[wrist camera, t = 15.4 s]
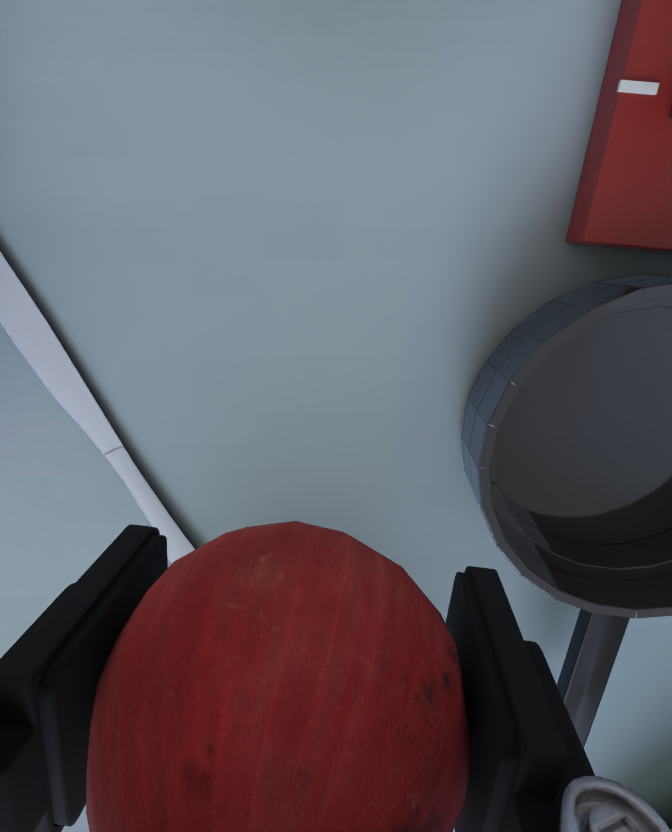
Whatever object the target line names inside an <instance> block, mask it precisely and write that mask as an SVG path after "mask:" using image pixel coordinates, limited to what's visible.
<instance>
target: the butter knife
mask: <svg viewBox="0 0 672 832" xmlns="http://www.w3.org/2000/svg"><path fill="white" fill-rule="evenodd" d="M0 323H1V325H2V326H3V328H4V329H5V330H6V332H7V333H8V335H9V336H10V338H11V339H12V341H13V342H14V344H15V345H16V346H17V348H18V349H19V350H20V352H21V353H22V354H23V356H24V357H25V358H26V360H27V361H28V363H29V364H30V365H31V367H32V368H33V369H34V371H35V372H36V373H37V375H38V376H39V378H40V379H41V380H42V382H43V383H44V384H45V386H46V387H47V388H48V390H49V391H50V392H51V394H52V395H53V396H54V397H55V398H56V399H57V401H58V402H59V403H60V404H61V405H62V406H63V407H64V408H65V410H66V411H67V412H68V413H69V414H70V415H71V416H72V417H73V418H74V420H75V421H76V422H77V423H78V424H79V425H80V426H81V427H82V428H83V430H84V431H85V432H86V433H87V434H88V435H89V436H90V437H91V439H92V440H93V441H94V443H95V444H96V445H97V447H98V448H99V449H100V451H101V452H102V453H103V455H105V457H106V458H107V459H108V461H109V462H110V463H111V465H112V466H113V467H114V469H115V470H116V471H117V473H118V474H119V475H120V477H121V478H122V479H123V481H124V482H125V484H126V485H127V487H128V488H129V490H130V492H131V493H132V495H133V496H134V498H135V500H136V501H137V503H138V504H139V506H140V508H141V509H142V511H143V512H144V514H145V516H146V517H147V519H148V520H149V522H150V524H151V526H152V527H156V528H158V530H159V532H160V535H164V536H166V538H167V556H168V558H169V560H170V562H171V564H172V563H173V562H174V561H176V560H178V559H179V558H181V557H183V556H185V555H187V554H188V553H190V552H192V551H194V550H195V548H194V547H193V546H192V544H191V543H190V542H189V540H188V539H187V538H186V536H185V535H184V534H183V533H182V531H181V530H180V528H179V527H178V526H177V524H176V523H175V521H174V520H173V519H172V517H171V516H170V515H169V513H168V512H167V510H166V509H165V507H164V506H163V505H162V503H161V502H160V500H159V499H158V497H157V496H156V494H155V493H154V491H153V490H152V489H151V487H150V486H149V484H148V483H147V481H146V480H145V478H144V477H143V476H142V474H141V473H140V471H139V470H138V468H137V466H136V465H135V463H134V462H133V460H132V459H131V457H130V456H129V454H128V453H127V451H126V450H125V448H124V447H123V445H122V443H121V442H120V440H119V438H118V437H117V435H116V434H115V432H114V430H113V429H112V427H111V425H110V424H109V422H108V420H107V419H106V417H105V416H104V414H103V412H102V411H101V409H100V407H99V406H98V404H97V402H96V401H95V399H94V398H93V396H92V394H91V393H90V391H89V389H88V388H87V386H86V384H85V383H84V381H83V379H82V378H81V376H80V375H79V373H78V371H77V370H76V368H75V366H74V365H73V363H72V362H71V360H70V358H69V357H68V355H67V353H66V352H65V350H64V349H63V347H62V345H61V344H60V342H59V340H58V339H57V337H56V336H55V334H54V332H53V331H52V329H51V327H50V326H49V324H48V323H47V321H46V320H45V318H44V317H43V315H42V314H41V312H40V311H39V309H38V308H37V306H36V305H35V303H34V302H33V300H32V299H31V297H30V296H29V294H28V293H27V291H26V290H25V288H24V287H23V285H22V284H21V282H20V281H19V279H18V278H17V276H16V275H15V273H14V272H13V270H12V269H11V267H10V266H9V264H8V263H7V261H6V260H5V258H4V257H3V255H2V253H1V252H0Z"/></svg>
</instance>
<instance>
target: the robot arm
mask: <svg viewBox="0 0 672 832" xmlns="http://www.w3.org/2000/svg"><path fill="white" fill-rule="evenodd" d="M167 569H168V564H167V538H166V536H164V535H160V532H159V530H158V528H156V527H149V526H141V525H129V526H127V527H126V528H125V529H124V530H123V531H122V533H121V534H120V535H119V536H118V537H117V538H116V539H115V540H114V541H113V542H112V544H111V545H110V546H109V547H108V548H107V549H106V550H105V551H104V552H103V553H102V555H101V556H100V557H99V558H98V559H97V560H96V561H95V562H94V563H93V564H92V565H91V567H90V568H89V569H88V570H87V571H86V572H85V573H84V574H83V575H82V576H81V578H80V579H79V580H78V581H77V582H76V583H73V584H71V585H69V586H68V587H67V588H66V589H65V590H64V591H63V592H62V593H61V594H60V595H59V596H58V597H57V598H56V599H55V600H54V602H53V603H52V604H51V605H50V606H49V607H48V608H47V609H46V610H45V611H44V612H43V613H42V614H41V616H40V617H39V618H38V619H37V620H36V621H35V622H34V623H33V624H32V625H31V626H30V627H29V629H28V630H27V631H26V632H25V633H24V634H23V635H22V636H21V637H20V638H19V639H18V640H17V641H16V643H15V644H14V645H13V646H12V647H11V648H10V649H9V650H8V651H7V652H6V653H5V654H4V655H3V657H2V658H1V659H0V832H61V831H62V829H63V827H64V826H72V825H73V824H74V823H75V822H76V821H77V819H78V818H79V816H80V814H81V812H82V810H83V808H84V807H85V805H86V787H87V762H88V750H89V737H90V726H91V720H92V714H93V708H94V702H95V696H96V690H97V684H98V681H99V679H100V676H101V674H102V672H103V669H104V667H105V664H106V662H107V660H108V657H109V655H110V653H111V650H112V648H113V645H114V643H115V641H116V639H117V637H118V636H119V634H120V633H121V631H122V629H123V628H124V626H125V625H126V623H127V622H128V620H129V619H130V617H131V615H132V614H133V612H134V611H135V609H136V608H137V606H138V605H139V603H140V601H141V600H142V598H143V597H144V595H145V594H146V592H147V591H148V590H149V589H150V588H151V586H152V585H153V584H154V583H155V582H156V581H157V580H158V579H159V578H160V576H161V575H162V574H163V573H164V572H165V571H166V570H167ZM446 626H447V628H448V630H449V632H450V634H451V636H452V638H453V640H454V642H455V644H456V646H457V652H458V658H459V664H460V669H461V675H462V681H463V687H464V693H465V698H466V704H467V712H468V721H469V731H470V743H471V754H472V761H471V767H470V773H469V779H468V785H467V791H466V797H465V803H464V806H463V808H462V810H461V813H460V815H459V817H458V820H457V822H456V825H455V832H671V831H670V829H669V827H668V826H667V824H666V823H665V822H664V820H663V819H662V818H661V817H660V816H659V815H658V814H657V812H656V811H655V810H654V809H653V808H652V807H651V806H650V805H649V804H648V803H647V802H645V801H644V800H643V799H642V798H641V797H639V796H638V795H637V794H636V793H635V792H633V791H631V790H630V789H628V788H626V787H624V786H623V785H621V784H619V783H617V782H615V781H612V780H609V779H606V778H603V777H599V776H595V774H594V772H593V770H592V767H591V765H590V763H589V760H588V758H587V756H586V753H585V751H584V749H583V746H582V744H581V741H580V739H579V737H578V734H577V732H576V730H575V727H574V725H573V723H572V720H571V718H570V716H569V713H568V711H567V709H566V706H565V704H564V701H563V699H562V697H561V694H560V692H559V690H558V687H557V685H556V683H555V680H554V678H553V676H552V673H551V671H550V669H549V666H548V664H547V661H546V659H545V657H544V654H543V652H542V650H541V648H540V647H539V645H538V644H537V643H535V642H532V641H525V640H523V637H522V635H521V632H520V629H519V627H518V624H517V622H516V619H515V617H514V614H513V611H512V609H511V606H510V604H509V601H508V599H507V596H506V593H505V591H504V588H503V586H502V583H501V581H500V578H499V576H498V573H497V571H496V570H495V569H488V568H480V567H472V566H468V567H467V568H466V570H465V573H462V572H457V573H456V576H455V580H454V585H453V590H452V595H451V600H450V605H449V609H448V614H447V619H446Z"/></svg>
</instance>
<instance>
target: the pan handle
mask: <svg viewBox="0 0 672 832" xmlns="http://www.w3.org/2000/svg"><path fill="white" fill-rule="evenodd" d="M629 619H630V618H629V617H621V616H613V615H606V614H598V613H593V612H589V611H586V610H584V609H581V610H580V613H579V616H578V619H577V623H576V626H575V629H574V632H573V635H572V638H571V642H570V645H569V648H568V651H567V654H566V658H565V661H564V664H563V667H562V670H561V674H560V677H559V680H558V683H557V687H558V690H559V692H560V694H561V697H562V699H563V701H564V704H565V706H566V709H567V711H568V713H569V716H570V718H571V720H572V723H573V725H574V727H575V730H576V732H577V734H578V737H579V739H580V741H581V744H582V746H583V749H584V746H585V743H586V740H587V737H588V735H589V732H590V729H591V726H592V723H593V720H594V718H595V715H596V712H597V709H598V706H599V704H600V701H601V698H602V695H603V692H604V689H605V687H606V684H607V681H608V678H609V675H610V673H611V670H612V667H613V664H614V661H615V658H616V656H617V653H618V650H619V647H620V644H621V642H622V639H623V636H624V633H625V630H626V627H627V625H628V622H629Z"/></svg>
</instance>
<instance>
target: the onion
mask: <svg viewBox="0 0 672 832" xmlns="http://www.w3.org/2000/svg"><path fill="white" fill-rule="evenodd" d="M471 761H472V754H471V743H470V731H469V721H468V712H467V704H466V698H465V693H464V687H463V681H462V675H461V669H460V664H459V658H458V652H457V646H456V644H455V642H454V640H453V638H452V636H451V634H450V632H449V630H448V628H447V626H446V624H445V622H444V620H443V618H442V616H441V614H440V612H439V611H438V610H437V609H436V607H435V606H434V605H433V604H432V603H431V601H430V600H429V599H428V598H427V597H426V595H425V594H424V593H423V592H422V591H421V589H420V588H419V587H418V586H417V584H416V583H415V582H414V581H413V580H412V578H411V577H410V576H409V575H408V574H407V572H406V571H405V570H404V569H403V568H402V567H401V566H399V565H398V564H396V563H394V562H393V561H391V560H390V559H388V558H386V557H385V556H383V555H381V554H380V553H378V552H376V551H375V550H373V549H371V548H370V547H368V546H366V545H365V544H363V543H361V542H360V541H358V540H356V539H355V538H353V537H352V536H350V535H348V534H346V533H344V532H340V531H336V530H332V529H328V528H323V527H319V526H315V525H311V524H306V523H302V522H298V521H293V522H285V523H276V524H268V525H260V526H252V527H246V528H242V529H239V530H235V531H231V532H228V533H225V534H223V535H221V536H219V537H218V538H216V539H214V540H212V541H210V542H208V543H207V544H205V545H203V546H201V547H199V548H198V549H196V550H194V551H192V552H190V553H188V554H187V555H185V556H183V557H181V558H179V559H178V560H176V561H174V562H173V563H172V564H171V565H170V567H169V568H168V569H167V570H166V571H165V572H164V573H163V574H162V575H161V576H160V578H159V579H158V580H157V581H156V582H155V583H154V584H153V585H152V586H151V588H150V589H149V590H148V591H147V592H146V594H145V595H144V597H143V598H142V600H141V601H140V603H139V605H138V606H137V608H136V609H135V611H134V612H133V614H132V615H131V617H130V619H129V620H128V622H127V623H126V625H125V626H124V628H123V629H122V631H121V633H120V634H119V636H118V637H117V639H116V641H115V643H114V645H113V648H112V650H111V653H110V655H109V657H108V660H107V662H106V664H105V667H104V669H103V672H102V674H101V676H100V679H99V681H98V684H97V690H96V696H95V702H94V708H93V714H92V720H91V726H90V737H89V750H88V762H87V787H86V814H87V819H88V825H89V830H90V832H453V829H454V827H455V825H456V822H457V820H458V817H459V815H460V813H461V810H462V808H463V806H464V803H465V797H466V791H467V785H468V779H469V773H470V767H471Z"/></svg>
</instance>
